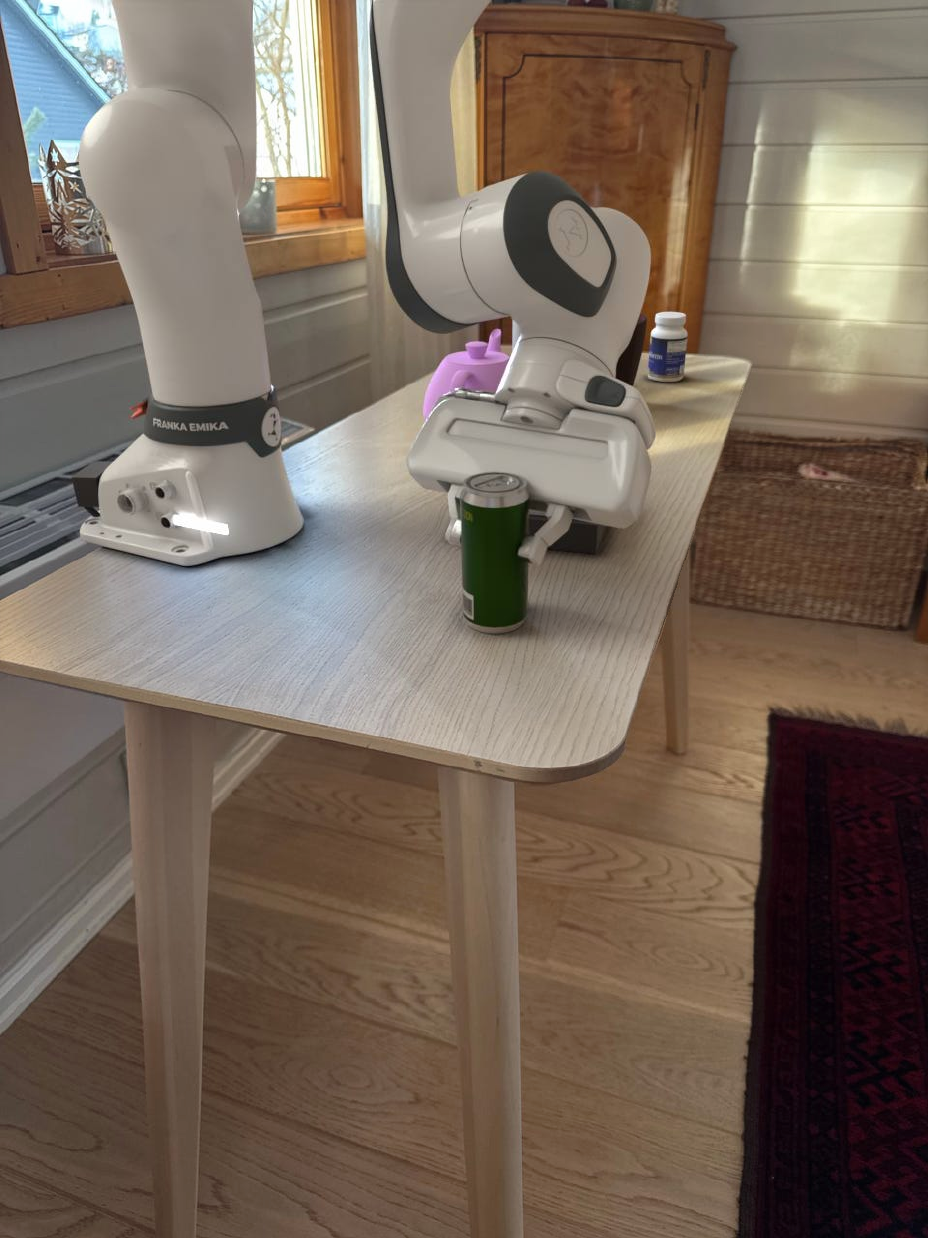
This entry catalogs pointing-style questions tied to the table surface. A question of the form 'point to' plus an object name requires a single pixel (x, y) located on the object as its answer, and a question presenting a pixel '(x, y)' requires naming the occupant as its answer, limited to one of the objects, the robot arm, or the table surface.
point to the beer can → (494, 551)
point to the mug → (632, 354)
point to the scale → (571, 534)
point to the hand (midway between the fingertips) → (491, 552)
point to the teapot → (468, 370)
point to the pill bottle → (668, 347)
